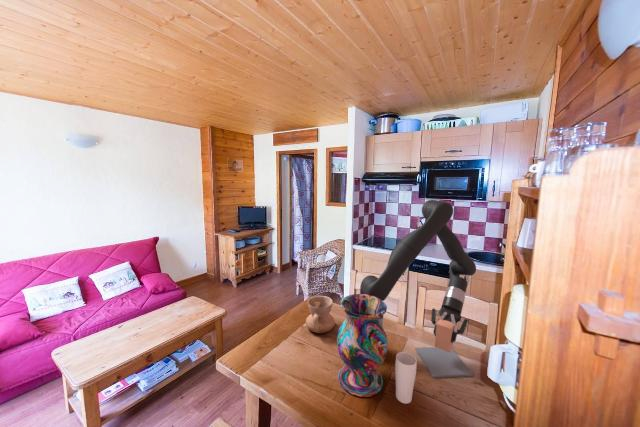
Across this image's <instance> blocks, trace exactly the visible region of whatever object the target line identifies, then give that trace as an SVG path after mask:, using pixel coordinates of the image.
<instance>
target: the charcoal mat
mask: <svg viewBox="0 0 640 427" xmlns="http://www.w3.org/2000/svg"><path fill="white" fill-rule="evenodd" d="M414 350H415V352H416V353H417V355H418V357H419V358H420V359H421V361H422V363H423V364H424V365H425V367H426V368H427V370H428V372H429V374H430V375H431V376H432V378H434V379H435V378H438V379H440V378H455V377H456V378H459V377H474V376H475V374H474V373H473V371H472V370H471V369H470V368H469V367H468V366H467V364H466V363H465V362H464V361H463V360H462V359H461V357H460V356H459V355H458V354H457V353H456V352H455V350H454V349H453V348H452V349H451V351H450V353H449V352H447V351H444V350H442V349H439V348H437V347H435V346H430V347H427V346H425V347H423V346H422V347H415V348H414Z"/></svg>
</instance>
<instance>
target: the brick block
mask: <svg viewBox="0 0 640 427" xmlns="http://www.w3.org/2000/svg"><path fill="white" fill-rule="evenodd" d="M437 321H438V320H437ZM453 332H454V324H452V322H449V321H447V320H444V319H443V320H439V321H438V323H437V325H436V336H435V342H434V347H437V348H439V349H442V350H444V351H447V352H449V353H450V351H451V349H452V350H453V347H454V342H453V343H452V342H451V337H452V333H453Z"/></svg>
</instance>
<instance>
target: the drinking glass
mask: <svg viewBox="0 0 640 427" xmlns="http://www.w3.org/2000/svg"><path fill="white" fill-rule="evenodd" d="M417 363H418V360H417V358H416V356H414V355H413V354H412V353H409V352H406V351H400V352H398V353H396V355H395V363H394V364H395V365H394V368H395V369H394V371H395V372H394V374H395V398H396V400H397V401H398V402H400V403H401V404H404V405H406V404H407V405H408V404H410V403H411V402H412V400H413V393H414V387H415V382H416V376H417V367H418V365H417Z"/></svg>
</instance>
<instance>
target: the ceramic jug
mask: <svg viewBox="0 0 640 427" xmlns="http://www.w3.org/2000/svg"><path fill="white" fill-rule="evenodd" d="M316 303H318V305H317V306H316ZM307 307H308V310H309V312H310V314H309V315H308V316H307V318H305V319H306V320H305V326H306V328H307V329H308V330H309V331H311V332H313V333H316V334H324V333H327V332H330V331H331V330H332V329H333V328H334V326H335V318H334V317H333V315H331V314H330V313H331V310H332V307H333V299H331V297H329V296H327V295H326V296H324V295H314V296H312V297H311V298H309V299H308V300H307Z"/></svg>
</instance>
